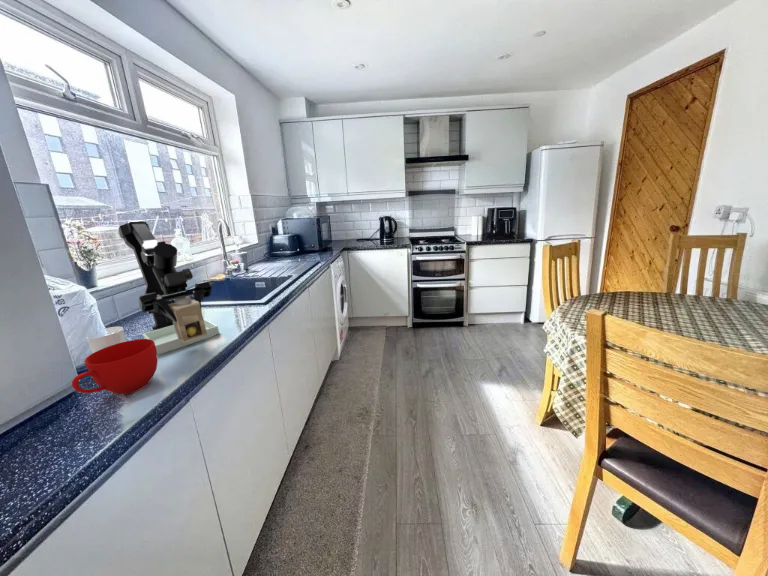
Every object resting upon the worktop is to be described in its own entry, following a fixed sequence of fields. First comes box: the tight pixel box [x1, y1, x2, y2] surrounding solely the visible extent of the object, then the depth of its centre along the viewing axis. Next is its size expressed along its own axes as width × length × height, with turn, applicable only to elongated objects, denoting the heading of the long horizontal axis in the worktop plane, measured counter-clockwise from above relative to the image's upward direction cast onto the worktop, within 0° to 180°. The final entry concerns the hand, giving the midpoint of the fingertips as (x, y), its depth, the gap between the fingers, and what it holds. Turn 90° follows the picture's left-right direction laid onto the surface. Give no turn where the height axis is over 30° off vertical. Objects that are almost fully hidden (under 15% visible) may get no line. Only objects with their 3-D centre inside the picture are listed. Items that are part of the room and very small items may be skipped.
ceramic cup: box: [71, 338, 158, 395], centre depth 71 cm, size 13×17×10 cm
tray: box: [142, 317, 220, 356], centre depth 102 cm, size 16×18×3 cm
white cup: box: [85, 326, 127, 354], centre depth 86 cm, size 8×8×10 cm
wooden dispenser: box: [168, 296, 207, 343], centre depth 91 cm, size 6×6×12 cm
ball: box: [186, 326, 197, 336], centre depth 92 cm, size 3×3×3 cm
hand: (188, 317), depth 90 cm, fingers closed on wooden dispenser, 6 cm apart
